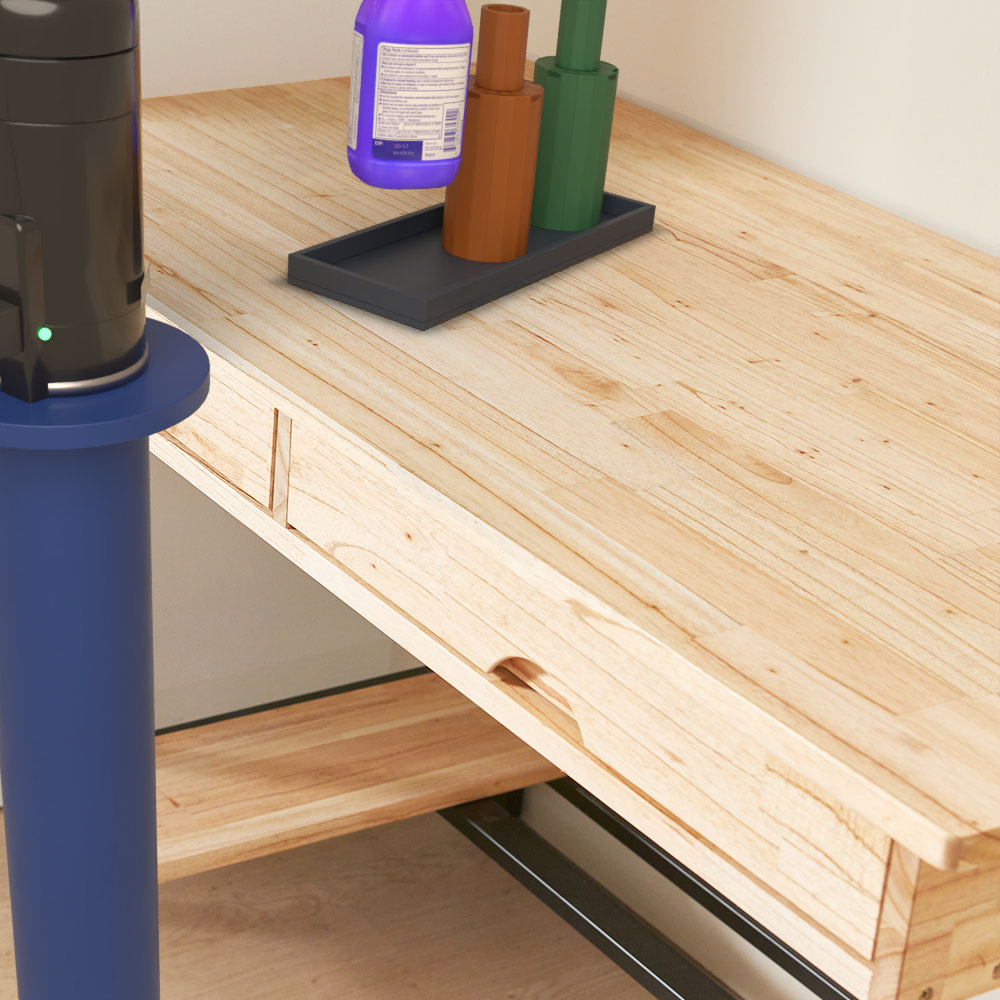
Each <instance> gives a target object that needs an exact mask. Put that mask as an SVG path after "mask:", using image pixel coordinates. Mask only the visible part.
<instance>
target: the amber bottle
mask: <svg viewBox="0 0 1000 1000" xmlns="http://www.w3.org/2000/svg"><path fill="white" fill-rule="evenodd" d="M530 18H531V10H530V9H529V8H526V7H524V6H519V5H515V4H508V3H507V4H506V3H486V4H482V5H481V7H480V17H479V26H478V27H479V28H478V40H477V41H478V42H477V54H476V67H475V74H469V84H468V96H467V105H466V116H465V126H464V136H463V147H462V154H461V163H460V167H459V170H458V172H457V175H456V177H455V178H454V180H453V182H452V183H451V184H450V185H448V186H446V187H445V194H444V201H445V205H444V219H443V232H442V246H443V248H444V250H445V251H447V252H449V253H450V254H452V255H454V256H457V257H460V258H463V259H466V260H472V261H478V262H492V263H502V262H509V261H511V260H513V259H516V258H518V257H521V256H523V255H526V253H527V251H528V241H529V231H530V222H531V212H532V202H533V192H534V183H535V173H536V163H537V153H538V144H539V134H540V124H541V114H542V105H543V95H544V89H543V88H542V86H541V85H539V84H537V83H535V82H533V80H529V79H525V70H526V69H525V68H526V58H527V49H528V38H529V27H530Z"/></svg>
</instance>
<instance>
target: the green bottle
mask: <svg viewBox="0 0 1000 1000" xmlns="http://www.w3.org/2000/svg"><path fill="white" fill-rule="evenodd" d="M607 4H608V0H561V2H560V11H559V19H558V20H559V21H558V30H557V31H558V32H557V40H556V41H557V42H556V50H555V55H546V56H542V57H538V58H537V59H535V61H534V68H533V78H532V82H535V83H537V84H539V85H541V86H542V88H543V89H544V95H543V105H542V114H541V124H540V134H539V144H538V153H537V163H536V173H535V183H534V192H533V202H532V212H531V222H530V224H531V225H534V226H537V227H540V228H544V229H549V230H555V231H565V232H579V231H584V230H587V229H589V228H592V227H594V226H597V225H599V223H600V218H601V210H602V202H603V194H604V191H605V185H606V177H607V170H608V161H609V153H610V146H611V137H612V131H613V130H612V129H613V121H614V115H615V114H614V113H615V105H616V99H617V97H616V96H617V89H618V80H619V73H620V69H619V68H618V67H617V66H616V65H614V64H612V63H610V62H607V61H604V60H601V56H602V47H603V38H604V30H605V22H606V14H607V6H608V5H607Z"/></svg>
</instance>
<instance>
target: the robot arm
mask: <svg viewBox="0 0 1000 1000" xmlns="http://www.w3.org/2000/svg"><path fill="white" fill-rule="evenodd" d="M140 11H141V10H140V0H0V391H2V392H4V393H6V394H9V395H11V396H13V397H15V398H18V399H20V400H22V401H24V402H27V403H35V402H38V401H40V400H43V399H47V398H54V397H72V396H82V395H89V394H95V393H100V392H104V391H108V390H112V389H115V388H118V387H121V386H123V385H125V384H128V383H129V382H131V381H133V380H135V379H136V378H138V377H139V376H140V375H141V374H142V373H143V372H144V371H145V370H146V368H147V366H148V361H149V359H148V344H147V341H146V317H147V315H146V312H147V311H146V297H147V294H148V291H149V288H150V286H151V261H149V262H148V266H147V268H146V267H145V266H146V263H145V262H146V261H145V218H144V217H145V216H144V215H145V214H144V211H145V210H144V170H143V169H144V168H143V163H144V161H143V119H142V117H143V115H142V112H143V111H142V100H143V99H142V58H141V56H142V55H141V42H140V41H141V13H140ZM145 268H146V269H145Z"/></svg>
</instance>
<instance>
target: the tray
mask: <svg viewBox="0 0 1000 1000" xmlns="http://www.w3.org/2000/svg"><path fill="white" fill-rule="evenodd" d="M444 205H445V200H444V201H442V202H438V203H435V204H432V205H429V206H427V207H424V208H420V209H417V210H415V211H412V212H409V213H406V214H403V215H399V216H397V217H394V218H391V219H388V220H384V221H382V222H379V223H377V224H373V225H370V226H367V227H364V228H362V229H361V228H360V229H359V230H356V231H353V232H349V233H347V234H343V235H341V236H337V237H335V238H332V239H329V240H326V241H322V242H321V243H317V244H314V245H311V246H308V247H305V248H302V249H299V250H296V251H294V252H290V253H288V254H287V280H286V281H287V284H289V285H293V286H295V287H299V288H300V289H301V288H302V289H305V290H307V291H310V292H313V293H315V294H318V295H321V296H324V297H327V298H329V299H333V300H335V301H339V302H341V303H344V304H346V305H349V306H353V307H355V308H358V309H361V310H364V311H366V312H369V313H372V314H375V315H378V316H381V317H383V318H387V319H389V320H392V321H395V322H398V323H400V324H403V325H406V326H408V327H411V328H415V329H418V330H419V331H426V330H428V329H430V328H432V327H435V326H436V325H439V324H441V323H444V322H447V321H449V320H451V319H454V318H455V317H458V316H460V315H462V314H464V313H467V312H469V311H472V310H474V309H476V308H478V307H481V306H483V305H485V304H487V303H490V302H492V301H494V300H497V299H499V298H501V297H503V296H506V295H508V294H510V293H513V292H515V291H518V290H520V289H521V288H525V287H526V286H529V285H531V284H533V283H536V282H538V281H540V280H543V279H545V278H548V277H549V276H552V275H554V274H556V273H558V272H561V271H563V270H566V269H567V268H570V267H572V266H574V265H577V264H579V263H581V262H584V261H586V260H589V259H591V258H593V257H595V256H597V255H599V254H602V253H605V252H607V251H609V250H611V249H613V248H616V247H618V246H621V245H622V244H625V243H627V242H630V241H632V240H634V239H637V238H639V237H641V236H643V235H645V234H648V233H650V232H652V231H653V230H654V224H655V223H654V222H655V215H656V209H657V205H655V204H652V203H648V202H645V201H641V200H637V199H634V198H631V197H628V196H624V195H620V194H616V193H613V192H609V191H606V190H604V194H603V202H602V210H601V218H600V223H599V225H597V226H594V227H592V228H589V229H587V230H584V231H579V232H565V231H555V230H549V229H544V228H540V227H537V226H534V225H531V224H530V231H529V241H528V251H527V253H526V255H523V256H521V257H518V258H516V259H513V260H511V261H509V262H502V263H492V262H478V261H472V260H466V259H463V258H460V257H457V256H454V255H452V254H450V253H449V252H447V251H445V250H444V248H443V246H442V232H443V219H444Z"/></svg>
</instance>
